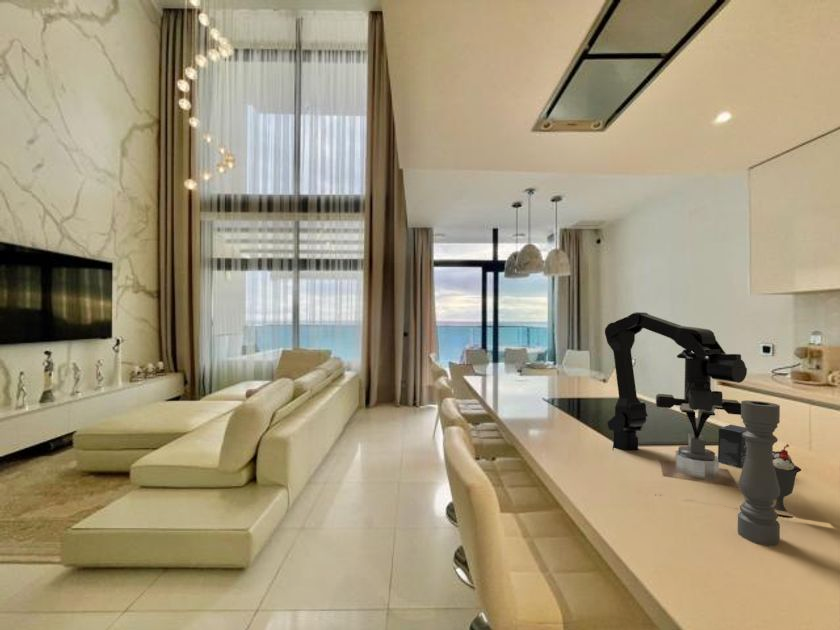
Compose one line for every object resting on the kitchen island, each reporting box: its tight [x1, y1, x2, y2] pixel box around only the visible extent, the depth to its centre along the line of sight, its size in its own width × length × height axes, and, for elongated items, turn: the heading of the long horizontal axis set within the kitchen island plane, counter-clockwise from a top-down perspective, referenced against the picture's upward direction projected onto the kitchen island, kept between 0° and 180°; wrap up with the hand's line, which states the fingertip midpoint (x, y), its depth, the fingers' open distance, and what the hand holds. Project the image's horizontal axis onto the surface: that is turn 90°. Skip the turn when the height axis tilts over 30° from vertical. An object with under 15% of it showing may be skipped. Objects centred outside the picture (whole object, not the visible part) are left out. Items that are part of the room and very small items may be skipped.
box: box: [717, 424, 747, 469], centre depth 121 cm, size 8×6×11 cm
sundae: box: [772, 443, 802, 519], centre depth 91 cm, size 7×7×15 cm
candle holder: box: [737, 400, 781, 547], centre depth 81 cm, size 6×6×25 cm
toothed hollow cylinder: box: [674, 450, 720, 479], centre depth 112 cm, size 9×9×4 cm
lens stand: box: [659, 459, 740, 489], centre depth 112 cm, size 16×14×1 cm
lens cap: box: [677, 433, 716, 460], centre depth 112 cm, size 8×8×8 cm
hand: (696, 436), depth 112 cm, fingers closed
